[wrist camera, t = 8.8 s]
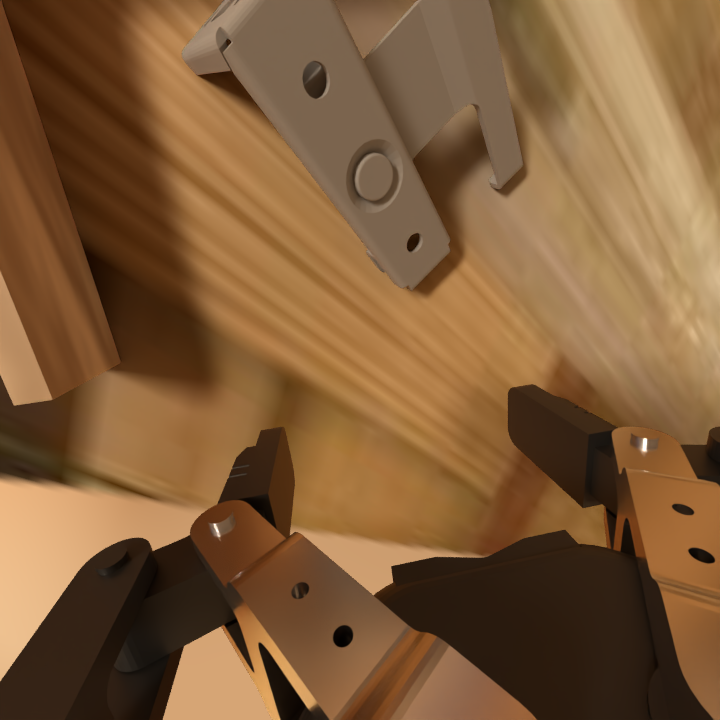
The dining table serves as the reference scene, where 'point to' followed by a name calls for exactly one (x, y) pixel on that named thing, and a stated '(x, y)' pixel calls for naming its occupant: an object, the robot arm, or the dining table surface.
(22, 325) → the wooden corner joint
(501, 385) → the dining table surface
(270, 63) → the bracket
